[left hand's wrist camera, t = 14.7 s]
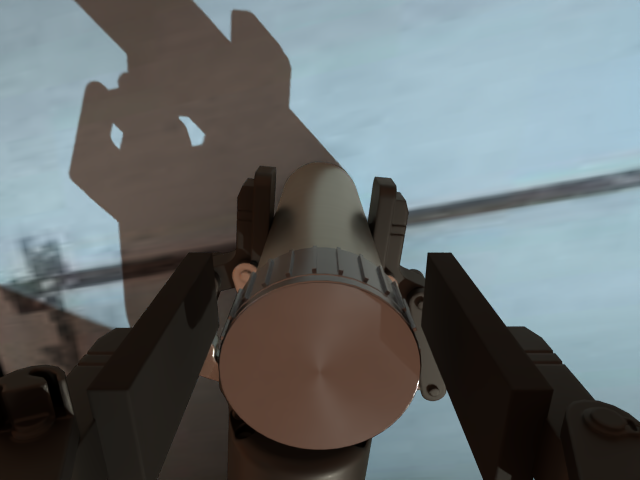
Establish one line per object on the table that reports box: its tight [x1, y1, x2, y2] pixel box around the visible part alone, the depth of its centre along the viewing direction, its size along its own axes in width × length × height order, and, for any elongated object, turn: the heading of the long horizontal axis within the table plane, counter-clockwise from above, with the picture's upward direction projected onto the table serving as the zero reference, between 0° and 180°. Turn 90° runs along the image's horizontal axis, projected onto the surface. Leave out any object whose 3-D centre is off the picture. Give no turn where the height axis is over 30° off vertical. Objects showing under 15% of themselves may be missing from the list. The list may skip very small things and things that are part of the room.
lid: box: [218, 246, 422, 450], centre depth 11 cm, size 5×5×2 cm
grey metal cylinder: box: [256, 162, 382, 271], centre depth 18 cm, size 4×4×15 cm
